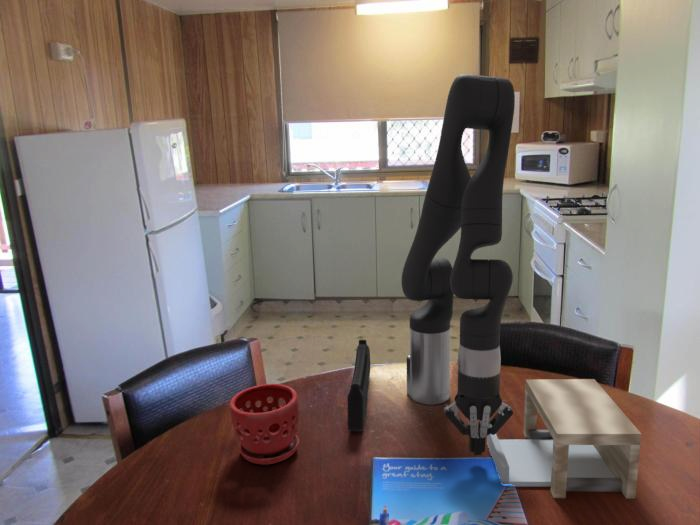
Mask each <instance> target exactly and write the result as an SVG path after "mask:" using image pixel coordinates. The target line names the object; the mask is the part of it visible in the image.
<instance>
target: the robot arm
mask: <svg viewBox="0 0 700 525" xmlns="http://www.w3.org/2000/svg"><path fill="white" fill-rule="evenodd" d="M446 99H447V100H446V105H445V109H444V115H443V122H442V125H441V126H442V127H441V131H440V138H439V142H438V143H439V144H438V148H437V153H436V156H435V157H436V158H435V161H434V163H433V164H434V165H433V168H432V172H431V174H430V178H429V181H428V186H427V188H426V192H425V196H424V199H423V204H422V208H421V212H420V219H419V221H418V225H417V228H416V232H415V235H414V238H413V242H412V244H411V246H410V249H409V251H408V254H407V257H406V259H405V262H404V265H403V268H402V274H401V289H402V292H403V294H404V296H405V297H406V298H407V299H408V300H410V301H415V302H419V301H420V302H421V301H427V302H426V303H425V304H424V305H422V306H421V307H420V308H418V309H417V310H415V311H413V312H412V313H411V314H410V316H409V355H407V356H406V394H407V395H409V396H410V399H412V400H413V401H414V402H417V403H419V404H422V405H433V406H434V405H440V404H444V403H446V402H447V401H448V400H449V399H450V389H451V387H450V382H451V381H450V380H451V377H450V376H451V374H450V372H451V371H450V370H451V369H450V368H451V321H452V318H453V312H454V298H455V297H456V298H458V299H461V300H486V301H487V300H489V301H488V303H487V304H485V305H484V306H481V307H477V308H472V309H469V310H466V311H464V312H463V313H461V315H460V318H459V344H458V345H459V347H458V353H457V361H456V362H457V363H456V365H457V392H456V395H455V397H454V401H453V402H451V403H450V404H445V405H443V412H444V415H445V416H446V418H447V419H448V420H449V421H450V422H451V423H452V424H453V425H454V427H455V428H456V429H457V430H458V431H459V433H460V434H461V435H463V436H468V449H469V451H470V453H472V454H473V456H482V455H483V453H485V451H486V443H487V435H489V434H491V435H495V434H496V435H497V433H498V432H499V431H500V429H501V428H502V427H503V426H504V425H505V424H506V423H507V421H509V419H510V418H511V417H512V416H513V415H514V412H513V408H512V407H511V406H510V404H509V403H505V402H503V399H502V397H501V395H500V393H501V392H500V391H501V389H500V388H501V362H502V361H501V359H502V357H501V355H502V354H501V346H500V344H501V343H500V340H501V322H502V317H503V312H504V308H505V305H506V303H507V301H508V300H507V299H508V297H509V295H510V294H509V293H510V292H511V288H512V285H513V276H514V275H513V270H512V267H511V266H510V264H509V263H508V262H506V261H505V260H503V259H496V258H495V259H492V258H491V259H485V258H484V259H481V258H480V259H476V258H475V259H473V258H472V254H473V253H474V252H475V251H477V250H478V249H481V248H485V247H491V246H495V245H498V244H499V243H500V242H501V240H502V236H503V192H504V191H503V190H504V184H505V183H504V182H505V175H506V168H507V162H508V158H509V157H508V156H509V149H510V144H511V137H512V130H513V121H514V115H515V104H516V100H515V99H516V96H515V88H514V85H513V83H512V82H511V80H509V79H508V78H505V77H500V76H492V75H491V76H490V75H480V74H479V75H478V74H473V73H472V74H467V73H462V74H459V75H457V76H456V77H455V78H454V79H453V81H452V84H451V86H450V88H449V92H448V95H447V98H446ZM467 129H469V130H482V131H483V130H484V131H488V143H487V148H486V150H485V153H484V156H483V158H482V160H481V162H480V163H479V165H478V166H477V168H476V169H475V171H474V172H473V174H472V175H471V172H470V171H469V168H468V166H467V164H466V160H465V158H464V154H463V150H462V142H463V141H462V140H463V135H464V132H465V130H467ZM459 230H460V238H459V243H458V244H459V246H458V249H457V254H456V257H455V260H454V263H453V265H452V264H451V262H450V260H448V259H447V258H445V257H442V256H441V257H439V256H438V257H435V256H436V255H437V253H438V252H439V251H440V250H441V249H442V247H444V246H445V244H447V243H448V242H449V241H450V239H452V238H453V237H454V236H455V235H456V234H457V232H458V231H459ZM458 409H459V411H460V412H461V414H463V416H464V417H465V418H466V419H467V424H465V422H464V421H463V420H462V418H461V417H460V416H459V415H458V414H459V412H458ZM496 412H497V413H496ZM495 413H496V414H495Z"/></svg>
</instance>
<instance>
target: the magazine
mask: <svg viewBox="0 0 700 525" xmlns="http://www.w3.org/2000/svg"><path fill="white" fill-rule="evenodd" d="M370 349H371V348H370V347H369V345H368V344H367V340H366V339H359V340H358V345H357V347H356V352H355V362H354V370H353V376H352V381H351V385H350V388H349V393H348V394H347V430H348V431H351V432H362V431H363V430H364V425H365V419H366V414H367V406H368V397H369V387H370V386H369V385H370V375H371V351H370Z"/></svg>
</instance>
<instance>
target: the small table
mask: <svg viewBox="0 0 700 525" xmlns="http://www.w3.org/2000/svg"><path fill="white" fill-rule="evenodd" d="M523 411H524V413H523V432H522V433H523V436H524V438H525V439H553V456H552V474H551V487H550V493H551V495H552V498H553V499H566V498H567V492H615V493H616V492H621V493H622V495H623V496H624V497H625V499H628V500H629V499H633V500H634V499H636V496H637V485H638V474H639V466H640V453H641V445H642V444H641V443H642V433H641V432H640V430H639V429H638V428H637V427H636V426H635V425H634V424H633V422H632V421H631V420H630V419H629V417H628V416H627V415H626V414H625V413H624V412H623V411H622V410H621V408H620V407H619V405H617V403H616V402H615V401H614V400H613V399H612V398H611V396H609V394H608V393H607V392H606V390H604V388H603V387H602V386H601V385H600V383H598V382H597V380H596V379H595V378H581V379H580V378H579V379H578V378H571V379H569V378H567V379H561V378H559V379H557V378H556V379H555V378H554V379H549V378H548V379H547V378H546V379H541V378H540V379H539V378H538V379H525V386H524V408H523ZM537 413H538V414H539V416H540V418H541V419H542V421H543V423H544V425H545V427H546V429H537ZM569 445H594V447H595V448H596V450H597V451H598V453H599V454H600V456H601V457H602V458H603V460H604V461H605V463H606V464H607V466H608V467H609V469H610V470H611V472H612V473H613V474H614V476H615V477H616V478H567V469H568V453H569Z"/></svg>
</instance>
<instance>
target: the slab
mask: <svg viewBox="0 0 700 525" xmlns="http://www.w3.org/2000/svg"><path fill="white" fill-rule="evenodd" d="M486 445H488V446H487V448H489V449H488V451H489V454H490V456H492V457H491V459H492V458H493V460H494V462H495V465H496V467H497V470H498V474H499V476H500V480H501V483H502V484H512V485H515V486H514V487H546V488H547V487H548V488H549V487H550V488H551V474H552V456H553V439H528V438H525V439H517V438H515V439H511V438H510V439H499V437H498V435H497V433H496V434H495V435H491V434H489V435H487V436H486ZM493 460H492V461H493ZM498 474H497V475H498ZM567 478H616V477H615V476H614V474H613V473H612V472H611V470H610V469H609V467H608V466H607V464H606V463H605V461H604V460H603V458H602V457H601V456H600V454H599V453H598V451H597V450H596V448H595V447H594V445H569V453H568V469H567ZM500 480H499V481H500ZM501 483H500V484H501Z"/></svg>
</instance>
